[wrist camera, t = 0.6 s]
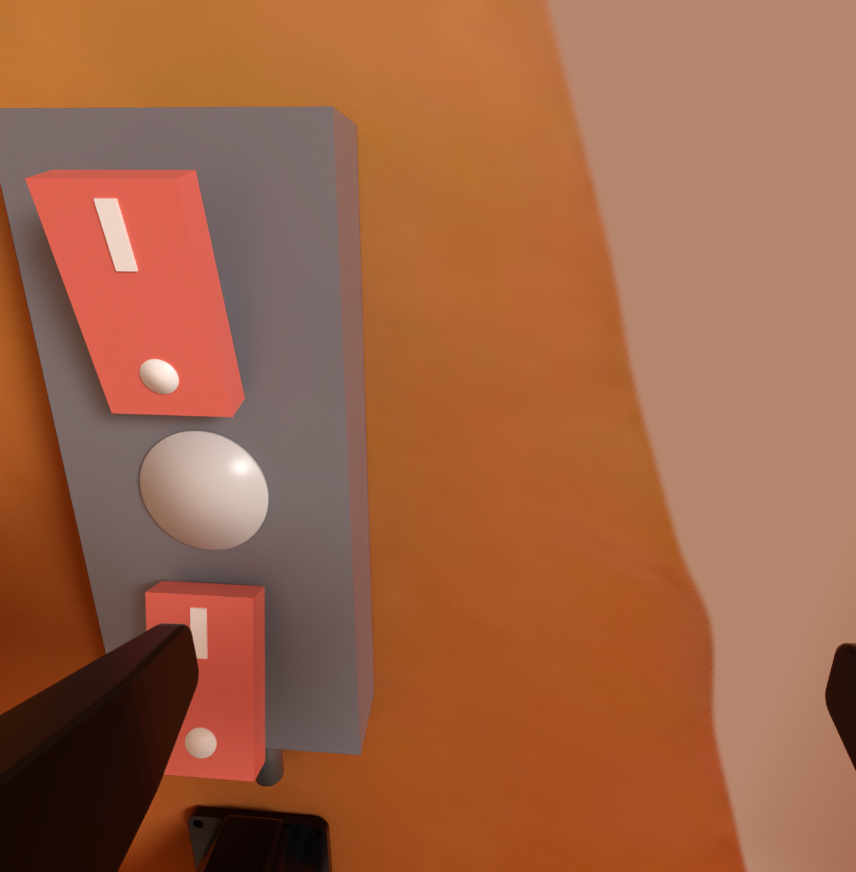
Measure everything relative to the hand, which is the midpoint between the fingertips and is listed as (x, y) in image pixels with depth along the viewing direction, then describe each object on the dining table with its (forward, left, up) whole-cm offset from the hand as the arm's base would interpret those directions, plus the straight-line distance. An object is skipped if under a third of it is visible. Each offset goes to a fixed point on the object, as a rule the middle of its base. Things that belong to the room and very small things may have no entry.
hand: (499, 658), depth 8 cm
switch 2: (-8, +9, -8) cm, 14 cm away
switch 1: (+4, +9, -8) cm, 12 cm away
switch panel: (-4, +9, -12) cm, 16 cm away
